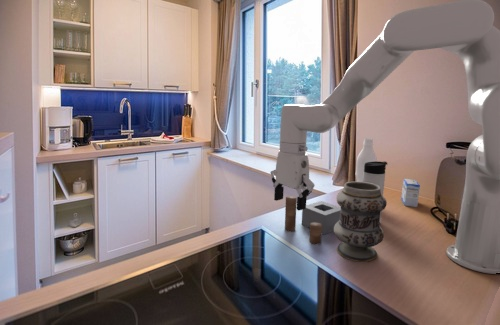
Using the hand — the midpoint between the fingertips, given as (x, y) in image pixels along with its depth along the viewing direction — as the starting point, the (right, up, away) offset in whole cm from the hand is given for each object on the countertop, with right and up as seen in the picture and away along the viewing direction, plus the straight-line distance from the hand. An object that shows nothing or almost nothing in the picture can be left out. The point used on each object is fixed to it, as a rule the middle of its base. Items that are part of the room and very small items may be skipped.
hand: (289, 204), depth 90 cm
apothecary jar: (+16, -11, -12) cm, 23 cm away
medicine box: (+49, -3, +26) cm, 56 cm away
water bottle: (+31, -3, +25) cm, 40 cm away
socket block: (+11, -7, +4) cm, 14 cm away
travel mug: (+27, -7, +7) cm, 29 cm away
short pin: (+6, -9, -6) cm, 13 cm away
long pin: (0, -8, +1) cm, 8 cm away
